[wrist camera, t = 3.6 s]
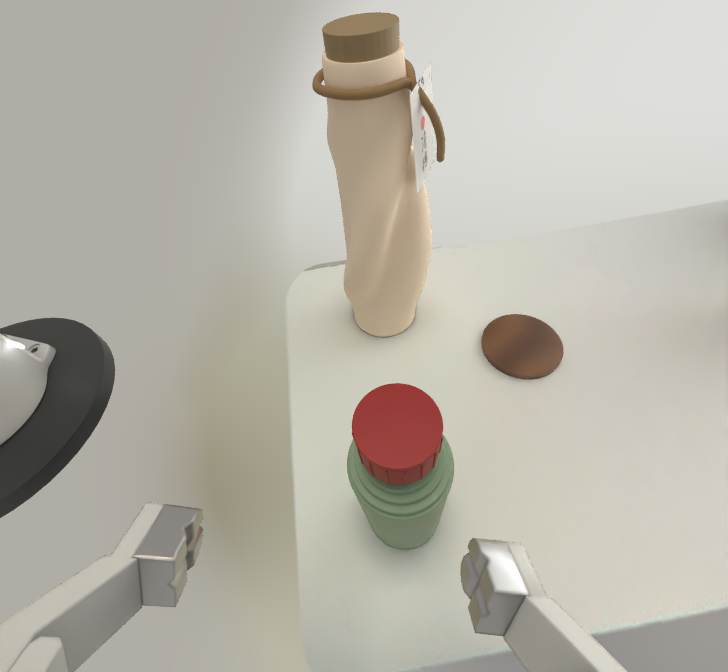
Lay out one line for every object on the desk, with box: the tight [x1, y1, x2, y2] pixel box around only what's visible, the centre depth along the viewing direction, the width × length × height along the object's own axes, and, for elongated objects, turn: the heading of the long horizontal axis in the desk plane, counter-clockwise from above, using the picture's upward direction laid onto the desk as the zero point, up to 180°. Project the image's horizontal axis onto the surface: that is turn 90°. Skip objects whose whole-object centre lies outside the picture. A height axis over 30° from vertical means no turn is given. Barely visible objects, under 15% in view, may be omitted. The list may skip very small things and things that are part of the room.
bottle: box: [347, 434, 454, 549], centre depth 24 cm, size 6×6×18 cm
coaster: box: [481, 314, 563, 379], centre depth 39 cm, size 8×8×1 cm
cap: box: [352, 383, 443, 485], centre depth 17 cm, size 4×4×3 cm
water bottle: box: [313, 13, 445, 337], centre depth 34 cm, size 10×9×28 cm
